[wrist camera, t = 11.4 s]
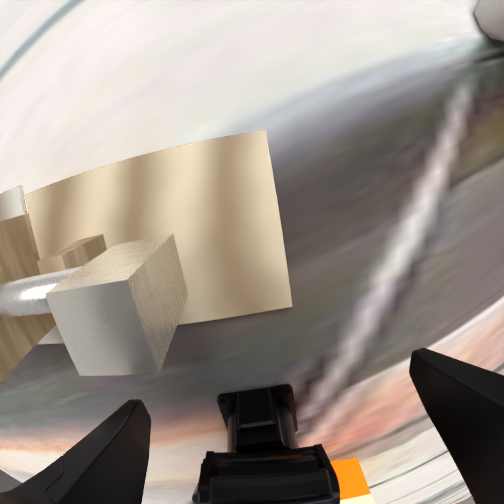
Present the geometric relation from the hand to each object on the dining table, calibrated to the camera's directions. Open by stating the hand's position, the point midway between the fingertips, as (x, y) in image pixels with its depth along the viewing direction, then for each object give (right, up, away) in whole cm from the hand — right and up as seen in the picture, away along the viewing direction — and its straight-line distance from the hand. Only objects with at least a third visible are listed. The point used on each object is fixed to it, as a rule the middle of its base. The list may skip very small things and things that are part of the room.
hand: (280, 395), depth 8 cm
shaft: (-14, +2, +5) cm, 15 cm away
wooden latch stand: (-13, +4, +12) cm, 18 cm away
